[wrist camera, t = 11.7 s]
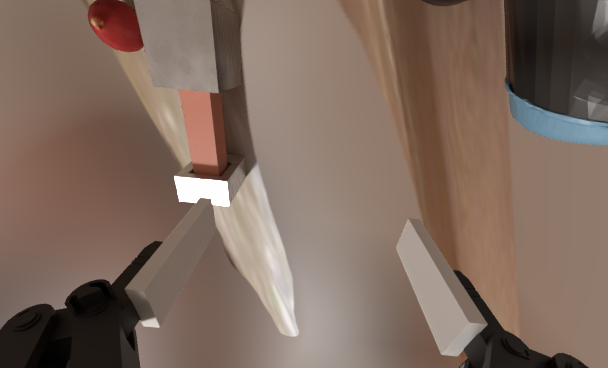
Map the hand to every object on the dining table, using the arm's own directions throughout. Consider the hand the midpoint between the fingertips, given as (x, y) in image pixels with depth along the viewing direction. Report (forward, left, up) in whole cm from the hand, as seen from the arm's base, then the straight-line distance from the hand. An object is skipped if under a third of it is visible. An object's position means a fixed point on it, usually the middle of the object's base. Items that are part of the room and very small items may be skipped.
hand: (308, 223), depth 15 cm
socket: (+10, -16, -27) cm, 33 cm away
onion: (-11, -27, -27) cm, 40 cm away
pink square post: (+2, -16, -23) cm, 28 cm away
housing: (-10, -16, -27) cm, 33 cm away
